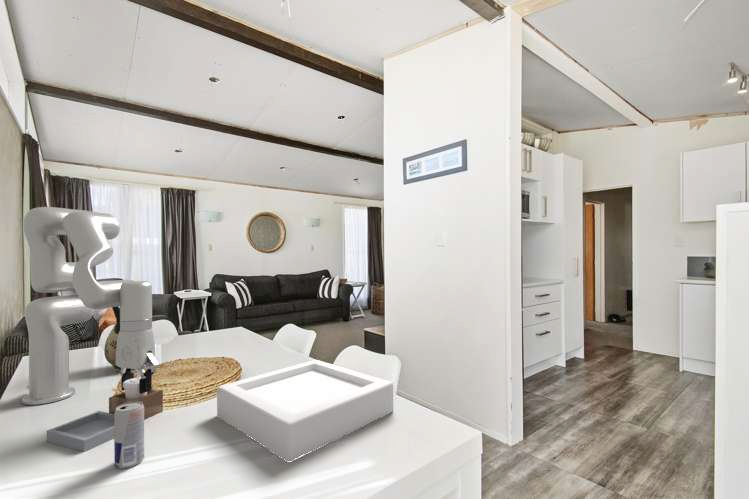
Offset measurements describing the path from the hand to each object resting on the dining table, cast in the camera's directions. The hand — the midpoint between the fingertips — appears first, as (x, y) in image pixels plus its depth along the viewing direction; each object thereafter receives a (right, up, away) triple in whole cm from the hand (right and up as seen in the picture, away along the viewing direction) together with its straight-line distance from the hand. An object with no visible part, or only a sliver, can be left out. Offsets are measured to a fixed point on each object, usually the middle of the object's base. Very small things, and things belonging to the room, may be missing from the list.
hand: (136, 389), depth 103 cm
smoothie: (0, -7, 0) cm, 7 cm away
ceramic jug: (-32, -8, +43) cm, 54 cm away
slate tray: (-4, -7, -11) cm, 14 cm away
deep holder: (0, -7, 0) cm, 7 cm away
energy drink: (+14, -7, -23) cm, 28 cm away
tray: (+47, -7, 0) cm, 48 cm away
